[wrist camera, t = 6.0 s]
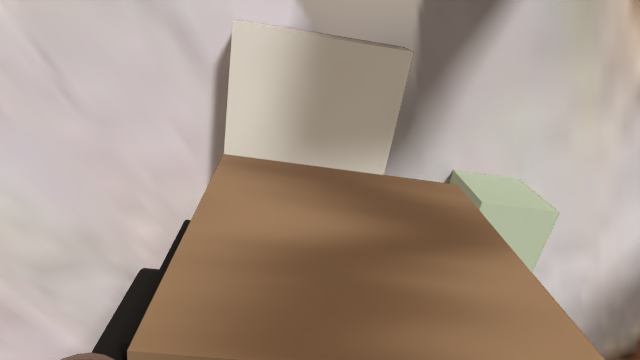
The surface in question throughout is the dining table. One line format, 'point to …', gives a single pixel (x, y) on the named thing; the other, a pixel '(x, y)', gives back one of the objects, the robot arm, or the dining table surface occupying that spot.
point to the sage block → (511, 211)
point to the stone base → (313, 97)
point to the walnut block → (347, 275)
